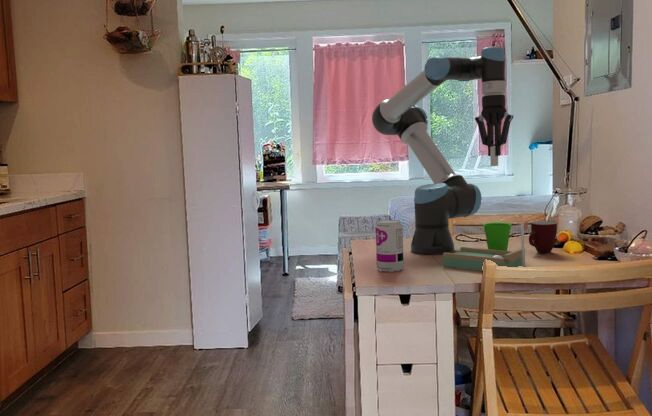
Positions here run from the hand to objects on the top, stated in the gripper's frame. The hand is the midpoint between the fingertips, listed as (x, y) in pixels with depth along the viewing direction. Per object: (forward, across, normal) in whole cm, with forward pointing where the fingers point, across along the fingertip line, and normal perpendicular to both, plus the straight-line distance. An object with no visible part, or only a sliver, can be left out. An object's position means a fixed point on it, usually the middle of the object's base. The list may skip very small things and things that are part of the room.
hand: (494, 165), depth 199 cm
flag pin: (+29, +19, -21) cm, 41 cm away
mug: (+30, +14, +5) cm, 33 cm away
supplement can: (+30, -15, -41) cm, 53 cm away
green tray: (+29, +7, -23) cm, 38 cm away
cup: (+30, +5, -9) cm, 31 cm away
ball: (+29, +13, -24) cm, 40 cm away
